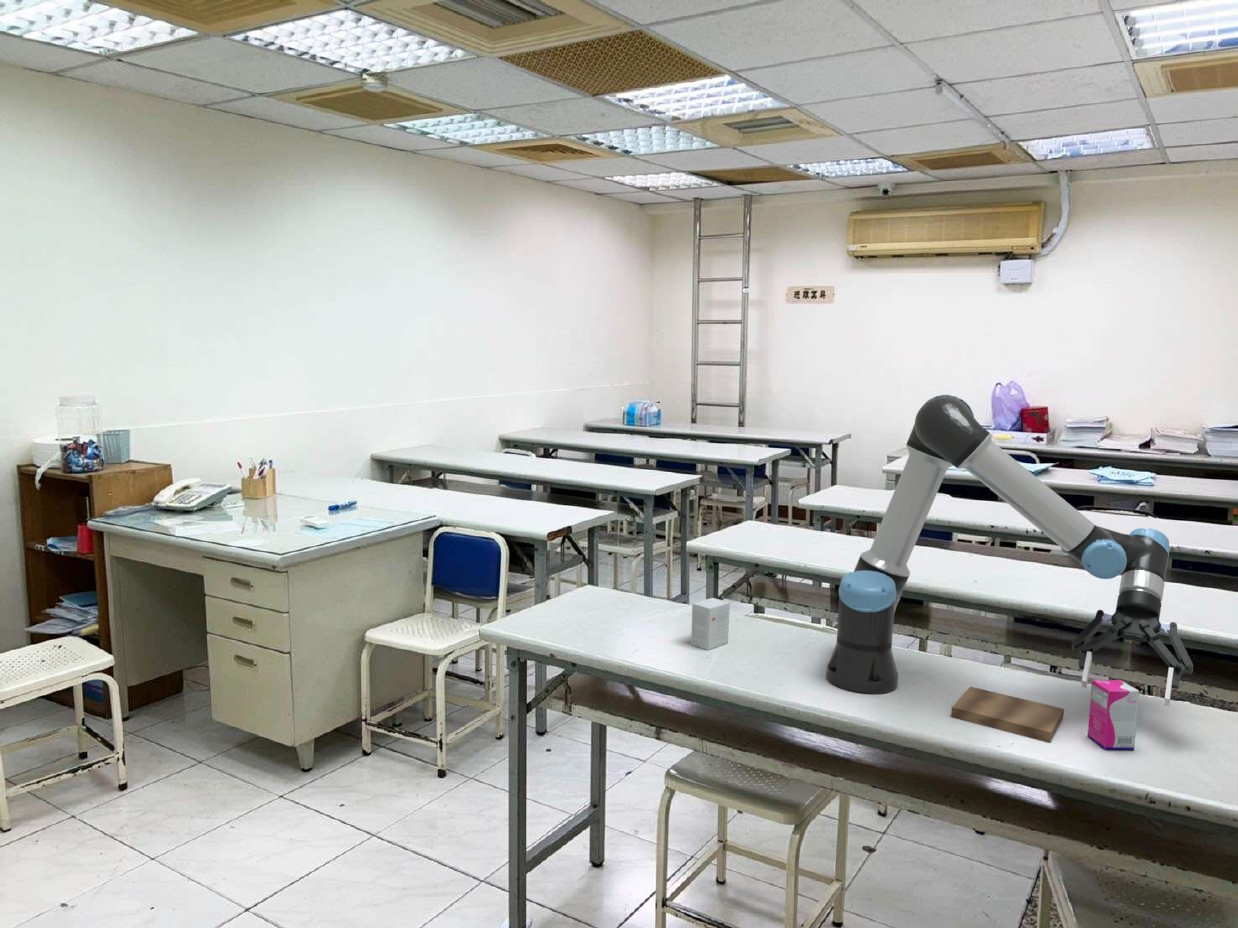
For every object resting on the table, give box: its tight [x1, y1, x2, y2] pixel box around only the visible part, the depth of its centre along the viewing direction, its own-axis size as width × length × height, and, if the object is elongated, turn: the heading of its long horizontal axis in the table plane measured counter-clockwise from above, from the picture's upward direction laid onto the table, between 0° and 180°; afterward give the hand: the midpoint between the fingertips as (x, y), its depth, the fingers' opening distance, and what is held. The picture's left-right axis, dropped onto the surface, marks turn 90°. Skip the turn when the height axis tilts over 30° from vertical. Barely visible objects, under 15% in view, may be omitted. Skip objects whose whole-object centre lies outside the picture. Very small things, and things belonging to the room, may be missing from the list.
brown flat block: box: [950, 686, 1065, 743], centre depth 171 cm, size 18×14×2 cm
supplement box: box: [1087, 679, 1140, 751], centre depth 160 cm, size 6×6×12 cm
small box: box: [690, 597, 731, 651], centre depth 210 cm, size 8×6×10 cm
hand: (1124, 693), depth 162 cm, fingers open, 13 cm apart
